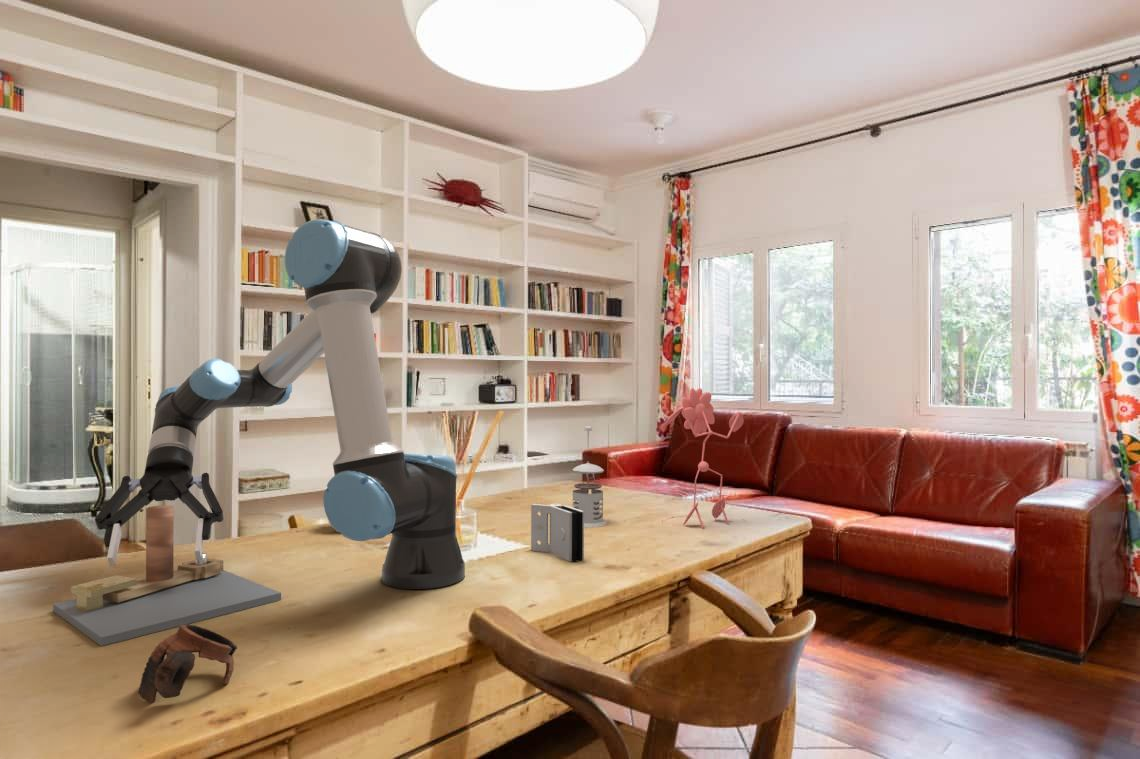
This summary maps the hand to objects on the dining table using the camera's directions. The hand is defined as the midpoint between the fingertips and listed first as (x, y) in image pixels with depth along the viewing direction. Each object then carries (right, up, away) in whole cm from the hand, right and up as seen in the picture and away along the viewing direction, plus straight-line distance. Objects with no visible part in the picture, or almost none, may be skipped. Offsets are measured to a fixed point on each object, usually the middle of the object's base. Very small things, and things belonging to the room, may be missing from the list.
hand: (155, 558), depth 115 cm
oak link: (0, -5, +3) cm, 6 cm away
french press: (+74, -7, +64) cm, 98 cm away
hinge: (+66, -7, +31) cm, 74 cm away
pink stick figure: (+102, -7, +65) cm, 121 cm away
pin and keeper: (-1, -6, 0) cm, 6 cm away
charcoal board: (+4, -7, -3) cm, 8 cm away
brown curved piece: (+23, -7, -33) cm, 41 cm away
